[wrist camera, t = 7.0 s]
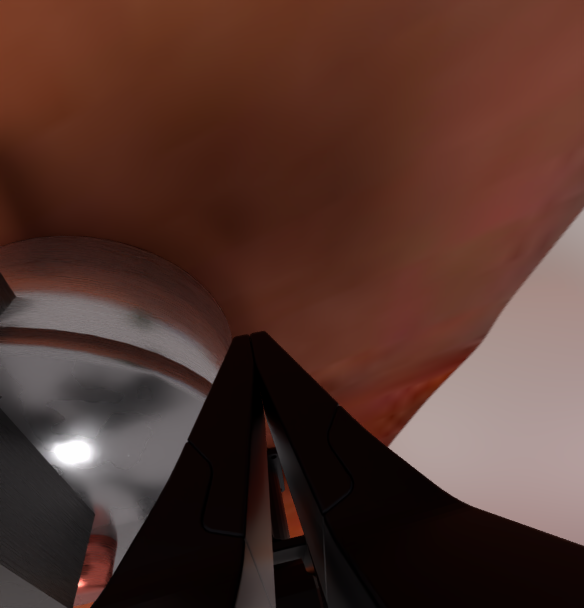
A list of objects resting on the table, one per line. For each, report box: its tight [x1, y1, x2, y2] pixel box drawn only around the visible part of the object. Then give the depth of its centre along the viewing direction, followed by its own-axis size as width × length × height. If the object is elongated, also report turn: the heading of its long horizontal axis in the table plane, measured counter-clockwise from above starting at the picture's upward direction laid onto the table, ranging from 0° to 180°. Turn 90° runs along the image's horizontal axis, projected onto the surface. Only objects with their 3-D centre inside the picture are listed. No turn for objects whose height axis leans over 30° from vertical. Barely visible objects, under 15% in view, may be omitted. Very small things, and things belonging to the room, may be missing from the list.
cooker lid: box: [0, 327, 212, 608], centre depth 11 cm, size 19×16×4 cm
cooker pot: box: [0, 236, 232, 384], centre depth 15 cm, size 20×15×7 cm
